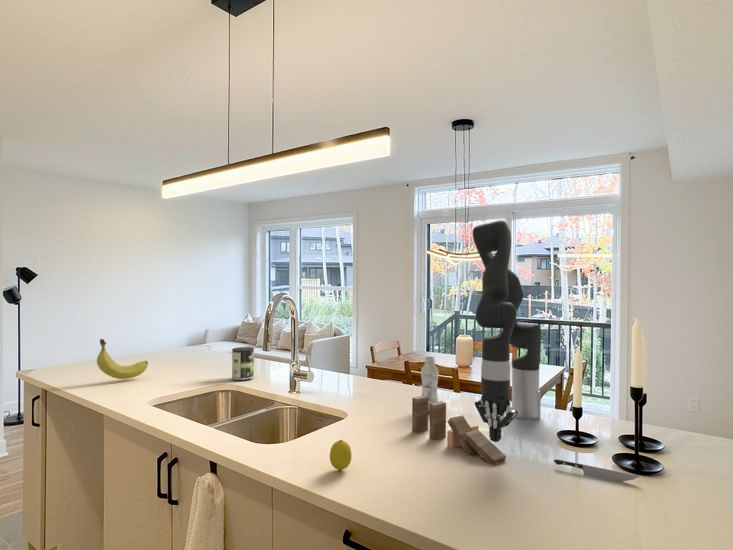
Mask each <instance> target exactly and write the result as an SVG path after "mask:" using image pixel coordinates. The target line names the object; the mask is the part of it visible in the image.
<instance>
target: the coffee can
mask: <svg viewBox="0 0 733 550" xmlns="http://www.w3.org/2000/svg"><path fill="white" fill-rule="evenodd" d="M254 351H255V348H253V347H249V346H245V347H244V346H243V347H242V346H241V347H234V348H231V352H232V357H231V359H232V361H231V362H232V364H231V366H232V368H231V371H232V373H231V374H232V375H231V378H232V380H236V381H237V380H239V381H240V380H241V381H243V380H250V379H253V378H254V376H255V375H254V370H255V369H254V357H255V356H254V355H255V354H254V353H255V352H254Z"/></svg>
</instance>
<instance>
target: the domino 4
mask: <svg viewBox="0 0 733 550" xmlns="http://www.w3.org/2000/svg"><path fill="white" fill-rule="evenodd" d="M469 426H470V427H471V429H472V430H473V431H474V430H479V431H480V429H479V425H477V424H475V423H472V424H469ZM446 438H447V441H446V442H447V444H446V445H447V446H446V447H448V448H451V449H455V448H458V447H462V445H461V444H460V442H459V440H458V439H457V437H456V435H455V434H454V432H453V431H452V429H448V430H446Z"/></svg>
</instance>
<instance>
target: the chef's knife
mask: <svg viewBox="0 0 733 550" xmlns="http://www.w3.org/2000/svg"><path fill="white" fill-rule="evenodd" d="M553 461H554V463H555V464H556V465H558V466H560V465H561V466H570V467H574V468H577V469H579V470H580V469H581V470H582V473H583V475H587V476H591V477H596V478H601V479H606V480H612V481H617V482H627V481H633V480H635V479H637V478H639V477H640V475H637V474H633V473H632V474H631V473H629V472H628V473H627V472H623V471H618V470H614V469H608V468H603V467H599V466H592V465H588V464H582V463H575V462H571V461H565V460H561V459H553Z"/></svg>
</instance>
